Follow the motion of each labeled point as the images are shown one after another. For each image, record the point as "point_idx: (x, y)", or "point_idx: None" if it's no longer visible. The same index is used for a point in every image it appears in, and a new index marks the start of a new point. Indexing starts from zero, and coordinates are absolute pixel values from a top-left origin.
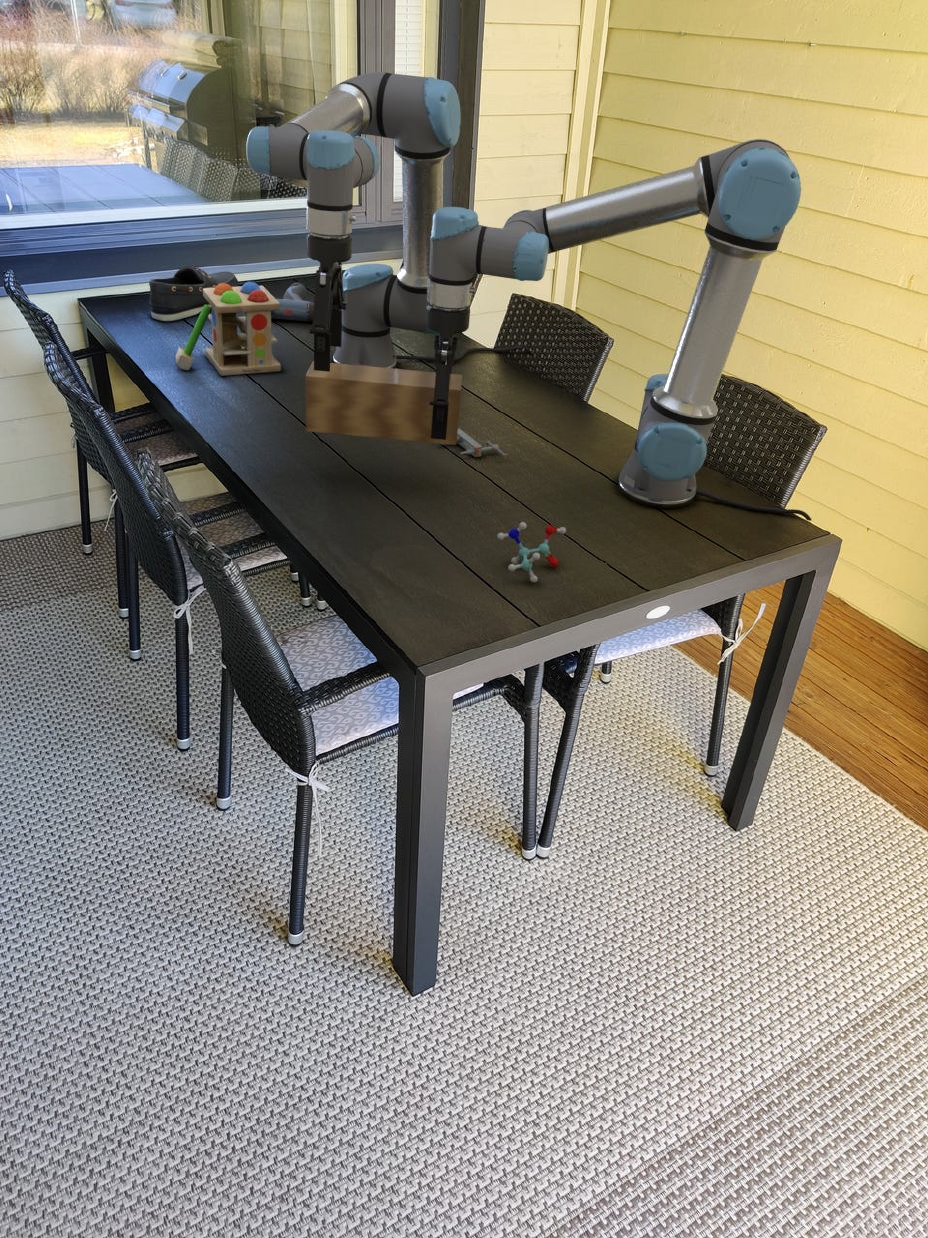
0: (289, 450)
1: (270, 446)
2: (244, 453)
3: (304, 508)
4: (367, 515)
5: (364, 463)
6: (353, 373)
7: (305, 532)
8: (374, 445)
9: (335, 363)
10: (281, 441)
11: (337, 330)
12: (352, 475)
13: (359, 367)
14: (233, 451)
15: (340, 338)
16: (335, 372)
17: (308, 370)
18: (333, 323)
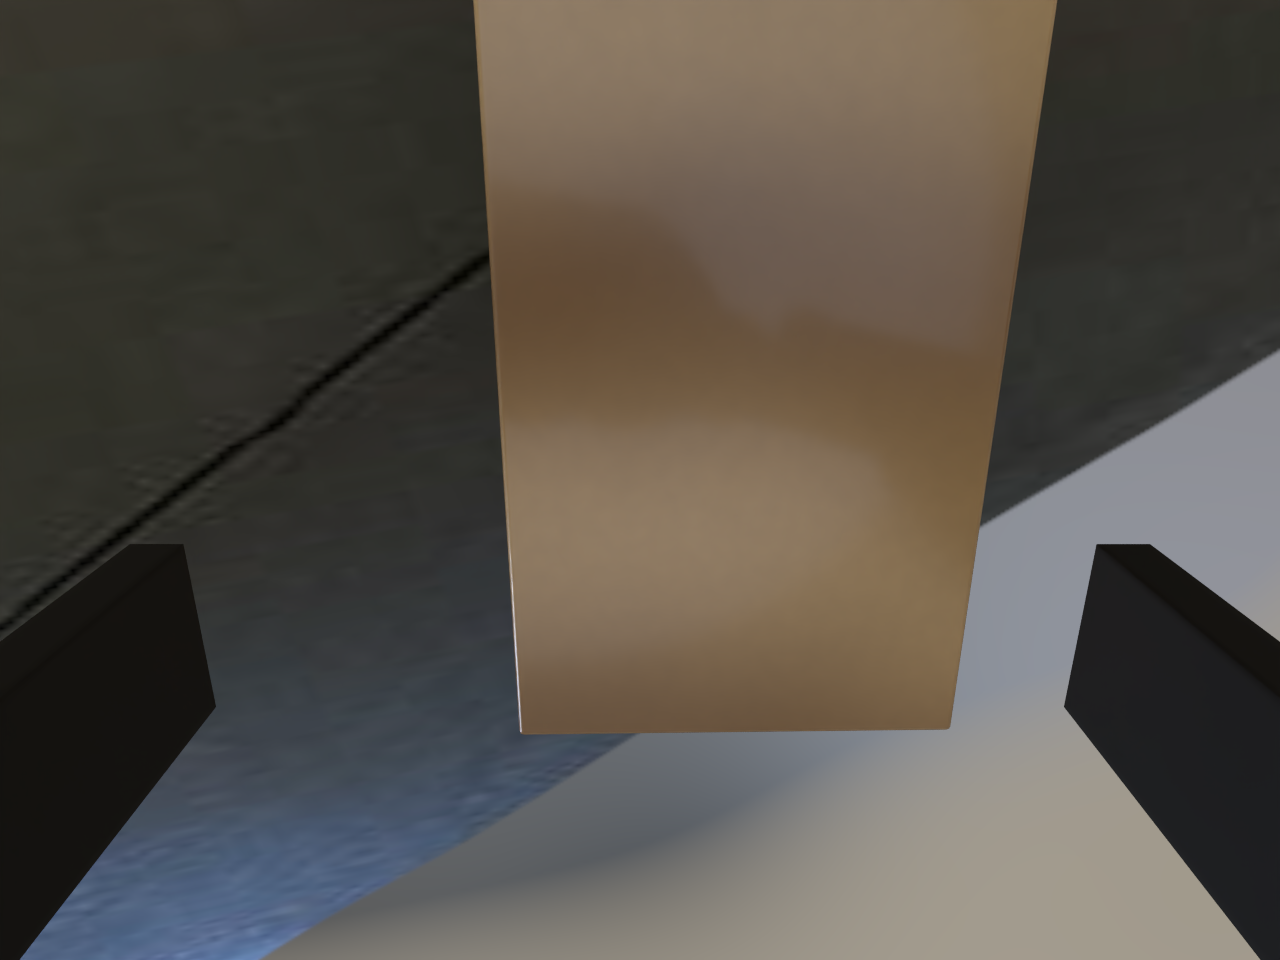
0: (441, 540)
1: (426, 623)
2: None
3: (1009, 375)
4: (1069, 61)
5: (481, 157)
6: (794, 271)
7: (1230, 332)
8: (234, 129)
9: (519, 518)
10: (358, 590)
11: (61, 712)
12: None
13: (568, 225)
14: (520, 743)
15: (122, 604)
16: (802, 477)
17: (795, 729)
18: (4, 848)
